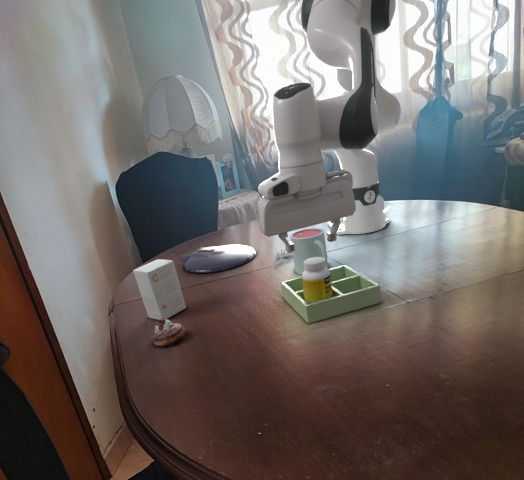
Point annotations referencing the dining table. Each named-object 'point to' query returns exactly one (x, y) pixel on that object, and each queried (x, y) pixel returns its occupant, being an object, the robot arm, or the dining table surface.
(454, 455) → the dining table surface
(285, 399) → the dining table surface
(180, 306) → the small box
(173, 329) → the pastry
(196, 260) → the toy spaceship
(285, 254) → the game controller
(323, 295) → the pill bottle
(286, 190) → the robot arm
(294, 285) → the divided tray
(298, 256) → the mug
